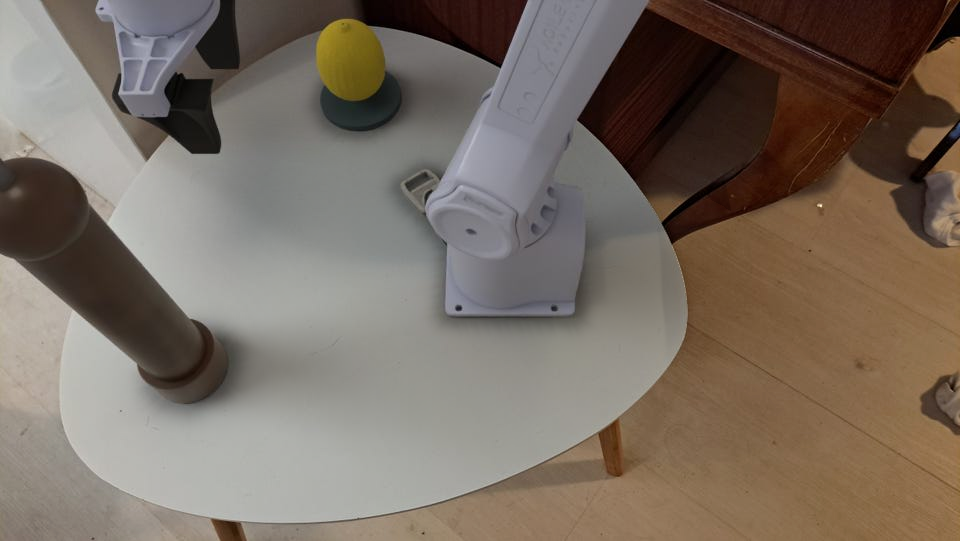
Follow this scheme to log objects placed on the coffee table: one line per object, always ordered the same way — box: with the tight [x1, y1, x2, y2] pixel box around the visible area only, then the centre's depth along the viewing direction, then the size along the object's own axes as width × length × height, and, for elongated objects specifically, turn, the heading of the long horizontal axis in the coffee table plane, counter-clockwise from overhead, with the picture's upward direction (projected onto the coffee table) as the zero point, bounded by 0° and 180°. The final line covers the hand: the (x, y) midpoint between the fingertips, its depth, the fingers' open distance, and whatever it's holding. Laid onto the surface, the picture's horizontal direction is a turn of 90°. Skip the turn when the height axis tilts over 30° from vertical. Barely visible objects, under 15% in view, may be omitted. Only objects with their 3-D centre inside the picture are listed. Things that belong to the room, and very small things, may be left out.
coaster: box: [319, 70, 402, 132], centre depth 63 cm, size 7×7×1 cm
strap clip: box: [400, 168, 447, 249], centre depth 56 cm, size 8×3×4 cm, turn 36°
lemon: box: [315, 18, 387, 101], centre depth 59 cm, size 6×6×8 cm
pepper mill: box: [0, 156, 229, 404], centre depth 41 cm, size 5×5×24 cm
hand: (216, 106), depth 51 cm, fingers open, 7 cm apart
